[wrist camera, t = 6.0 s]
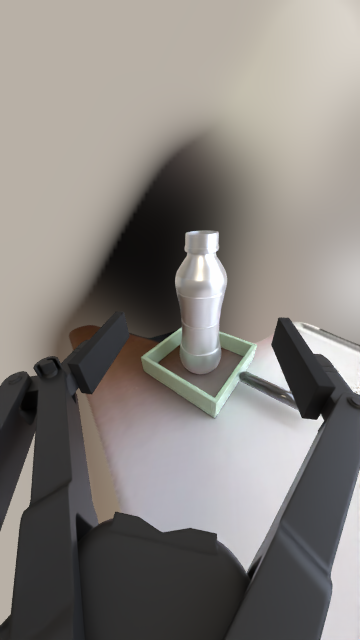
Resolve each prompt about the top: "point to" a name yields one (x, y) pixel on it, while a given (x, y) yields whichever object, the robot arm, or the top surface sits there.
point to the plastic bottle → (201, 302)
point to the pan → (239, 374)
